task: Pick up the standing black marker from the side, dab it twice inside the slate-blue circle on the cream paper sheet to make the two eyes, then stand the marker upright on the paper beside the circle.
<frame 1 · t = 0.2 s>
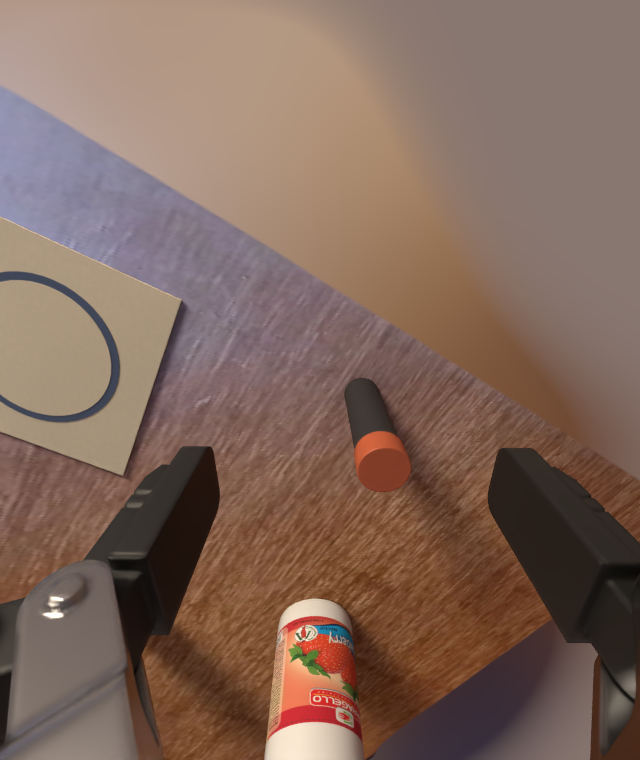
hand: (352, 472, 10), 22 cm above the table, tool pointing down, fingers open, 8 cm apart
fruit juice: (315, 619, 44), on the table
marker: (361, 393, 32), on the table
paper: (41, 352, 31), on the table
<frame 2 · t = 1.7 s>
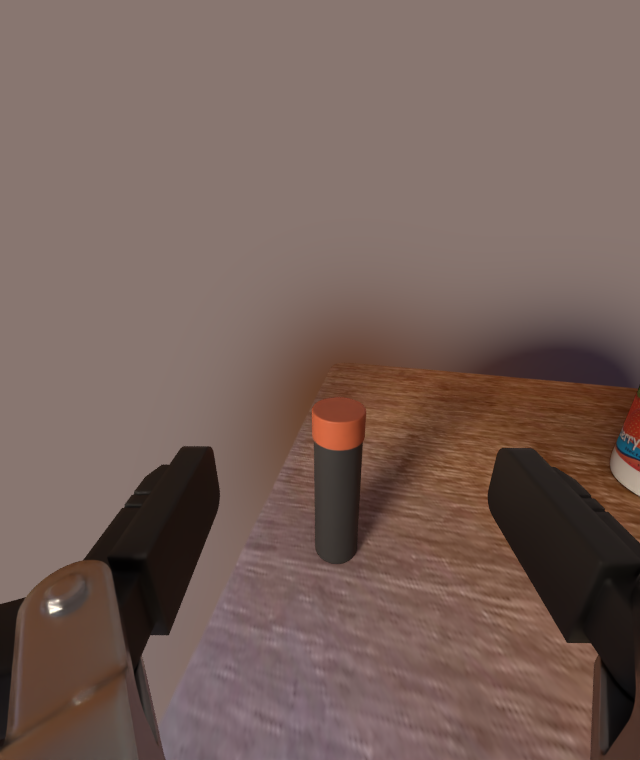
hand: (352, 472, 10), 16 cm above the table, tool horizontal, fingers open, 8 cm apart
marker: (336, 545, 26), on the table
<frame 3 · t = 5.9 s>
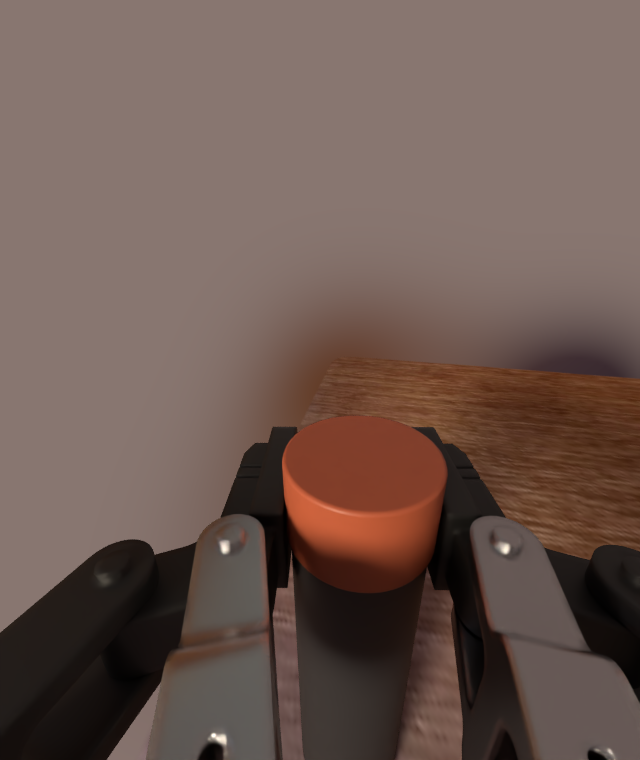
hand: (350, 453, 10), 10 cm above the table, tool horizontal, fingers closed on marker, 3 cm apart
marker: (348, 737, 12), on the table, touching gripper
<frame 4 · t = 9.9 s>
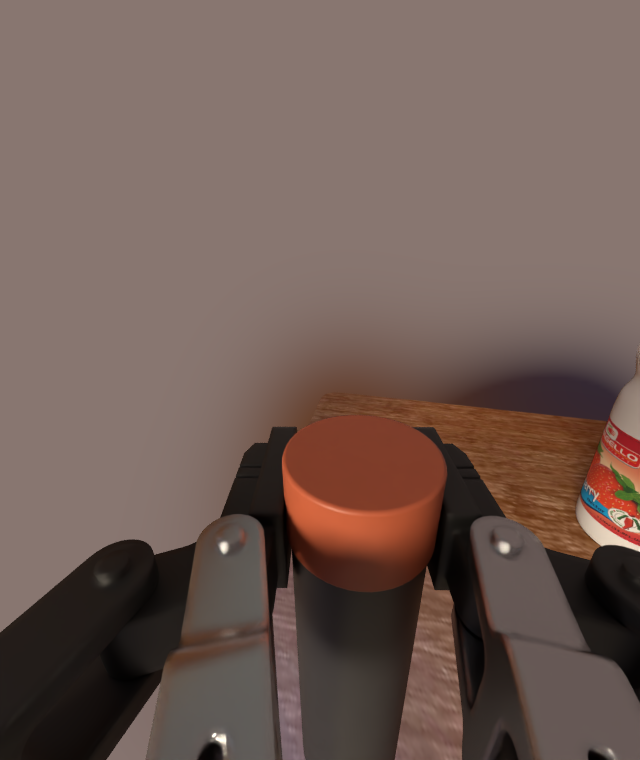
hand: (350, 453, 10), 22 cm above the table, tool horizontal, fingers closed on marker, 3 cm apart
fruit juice: (628, 534, 34), on the table
marker: (348, 737, 12), point 12 cm above the table, touching gripper
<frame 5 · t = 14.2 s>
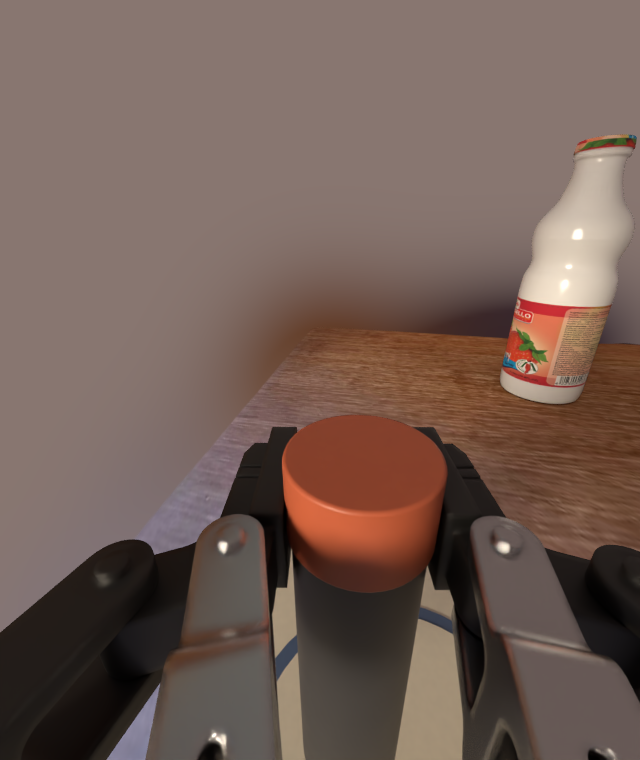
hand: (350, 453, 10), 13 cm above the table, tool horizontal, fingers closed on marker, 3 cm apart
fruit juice: (536, 391, 46), on the table
marker: (348, 737, 12), point 3 cm above the table, touching gripper
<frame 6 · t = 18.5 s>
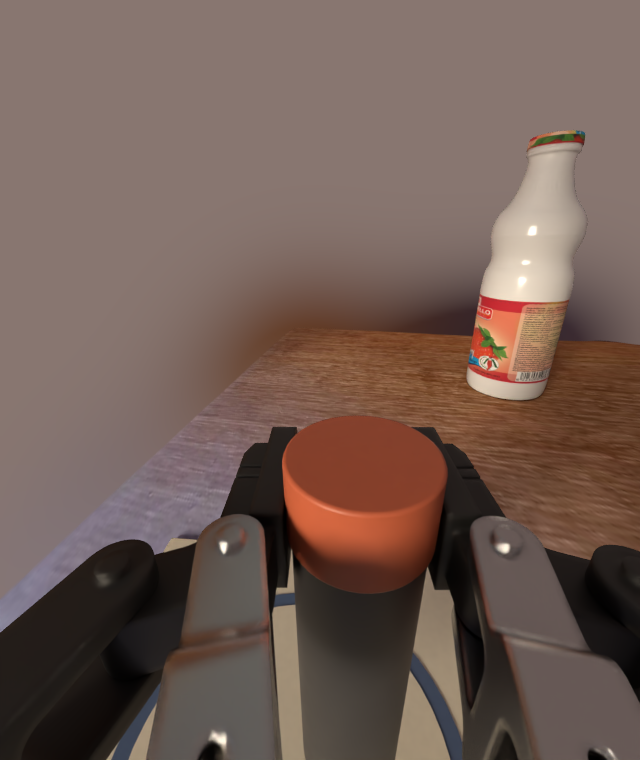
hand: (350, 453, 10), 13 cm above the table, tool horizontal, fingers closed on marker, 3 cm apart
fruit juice: (502, 387, 46), on the table
marker: (348, 738, 12), point 3 cm above the table, touching gripper
when the fingers open (10 cm above the table, at t = 22.3 s): marker stays where it is, resting on paper.
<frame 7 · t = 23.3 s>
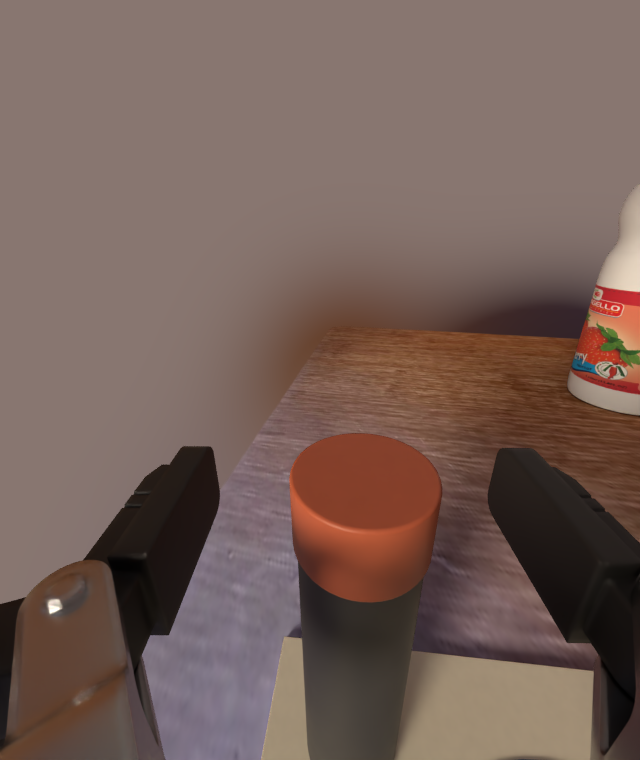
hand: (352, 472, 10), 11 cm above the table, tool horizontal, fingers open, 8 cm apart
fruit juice: (614, 399, 38), on the table
marker: (350, 736, 12), resting on paper
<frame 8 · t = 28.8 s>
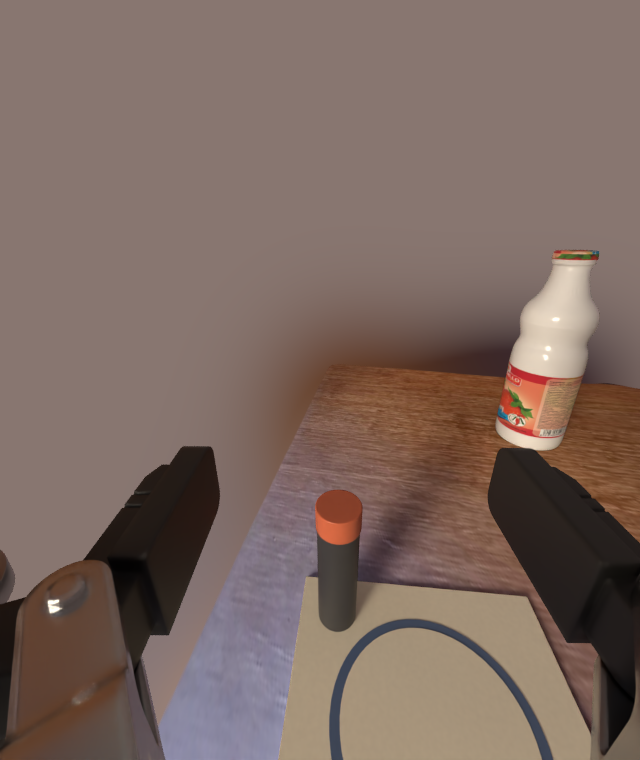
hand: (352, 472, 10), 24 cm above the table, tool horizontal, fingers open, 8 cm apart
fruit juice: (525, 436, 55), on the table
marker: (337, 612, 29), resting on paper
paper: (435, 732, 22), on the table
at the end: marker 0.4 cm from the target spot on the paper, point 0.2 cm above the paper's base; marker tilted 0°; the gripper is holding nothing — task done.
